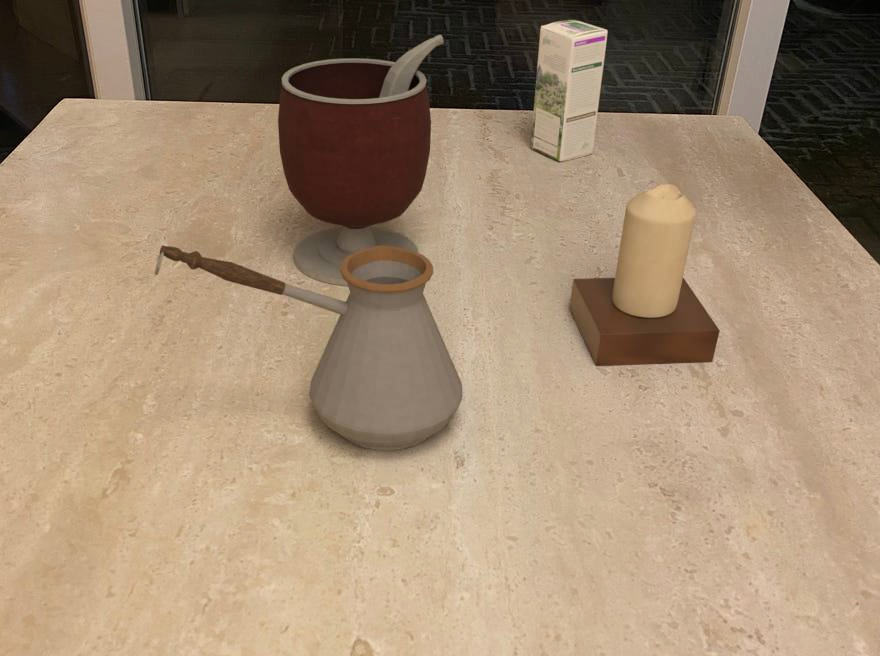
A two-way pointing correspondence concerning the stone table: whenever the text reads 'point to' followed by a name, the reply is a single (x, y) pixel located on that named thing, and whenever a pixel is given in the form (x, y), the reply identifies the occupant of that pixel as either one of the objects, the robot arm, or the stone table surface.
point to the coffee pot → (370, 347)
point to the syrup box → (568, 89)
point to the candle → (653, 252)
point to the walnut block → (641, 328)
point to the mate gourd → (354, 151)
